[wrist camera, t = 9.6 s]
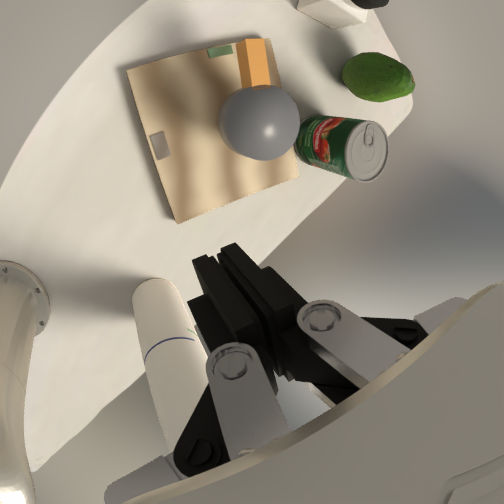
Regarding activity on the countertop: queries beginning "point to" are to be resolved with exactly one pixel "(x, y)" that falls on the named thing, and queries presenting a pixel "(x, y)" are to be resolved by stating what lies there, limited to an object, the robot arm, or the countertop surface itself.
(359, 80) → the avocado
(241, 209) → the countertop surface
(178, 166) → the plate
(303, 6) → the medicine bottle
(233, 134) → the grey paddle
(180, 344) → the cylindrical container
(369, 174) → the canned tomato
